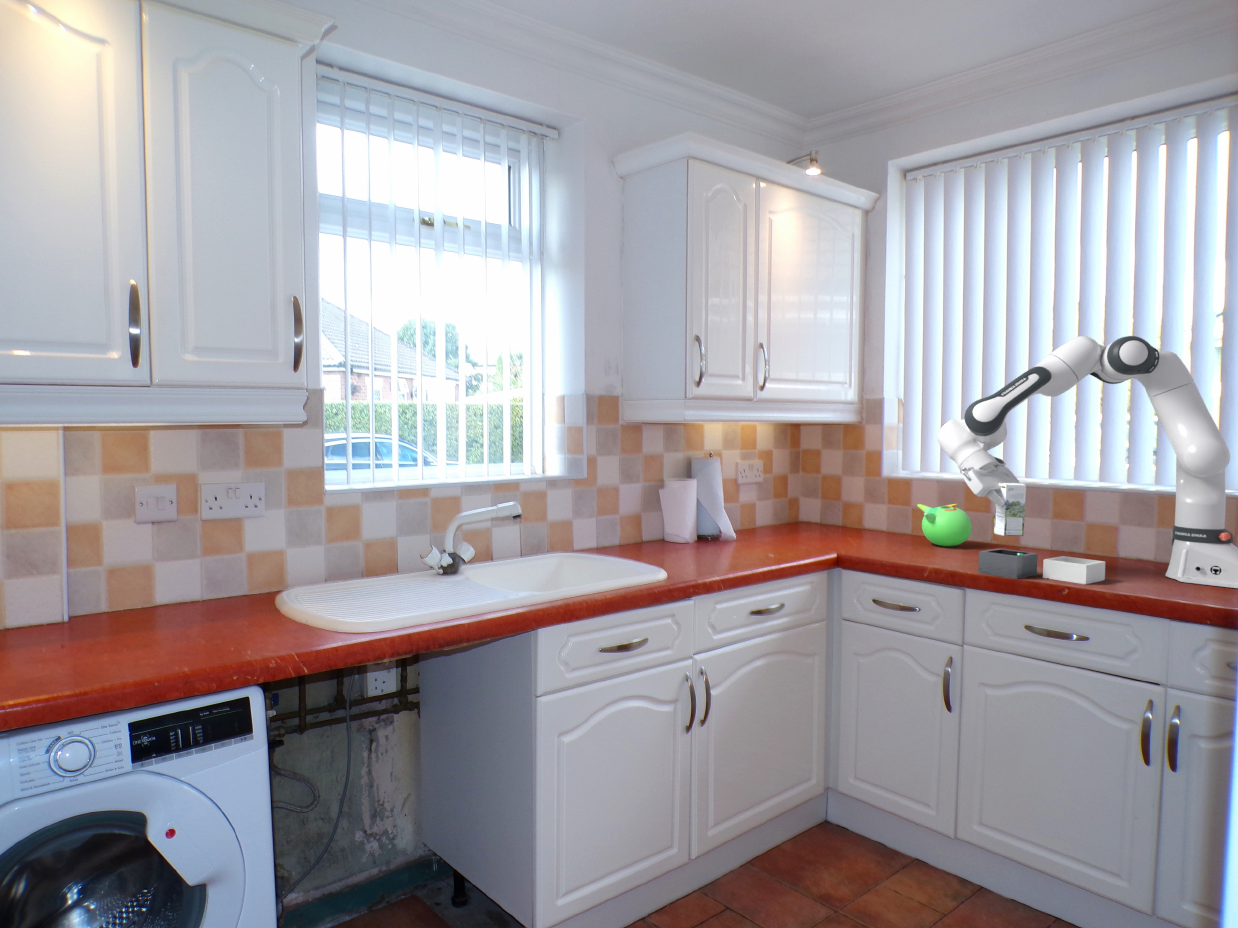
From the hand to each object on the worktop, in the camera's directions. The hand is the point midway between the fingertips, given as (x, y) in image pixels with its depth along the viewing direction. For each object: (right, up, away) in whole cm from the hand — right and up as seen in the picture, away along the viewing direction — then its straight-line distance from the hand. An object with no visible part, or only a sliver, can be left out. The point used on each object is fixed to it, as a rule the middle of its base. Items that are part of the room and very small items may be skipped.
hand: (1011, 504), depth 223 cm
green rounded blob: (+3, -17, +55) cm, 58 cm away
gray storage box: (-1, -19, +1) cm, 19 cm away
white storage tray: (+14, -20, -5) cm, 25 cm away
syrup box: (0, -9, +1) cm, 9 cm away
